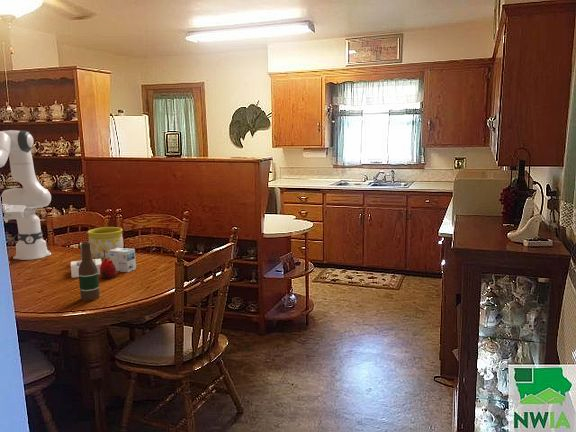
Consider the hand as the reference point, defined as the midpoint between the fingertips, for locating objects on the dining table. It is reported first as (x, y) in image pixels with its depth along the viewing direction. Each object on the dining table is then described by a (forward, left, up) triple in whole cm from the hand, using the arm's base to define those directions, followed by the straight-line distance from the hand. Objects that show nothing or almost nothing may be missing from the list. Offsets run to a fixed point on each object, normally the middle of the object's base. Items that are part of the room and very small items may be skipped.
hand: (35, 211), depth 226 cm
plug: (+5, +20, -31) cm, 37 cm away
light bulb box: (+8, +37, -32) cm, 50 cm away
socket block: (+5, +20, -32) cm, 38 cm away
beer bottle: (+46, +20, -32) cm, 60 cm away
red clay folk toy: (+18, +29, -32) cm, 47 cm away
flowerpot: (-18, +31, -32) cm, 48 cm away
